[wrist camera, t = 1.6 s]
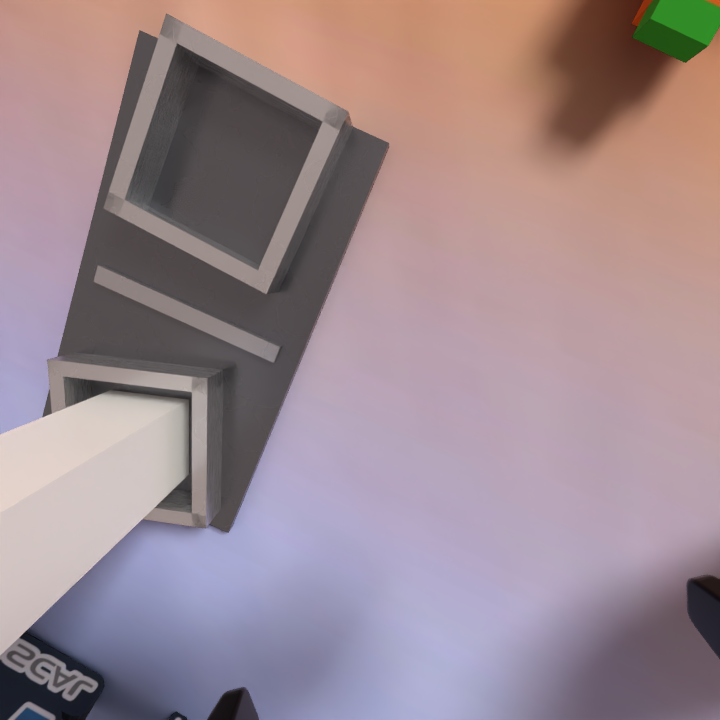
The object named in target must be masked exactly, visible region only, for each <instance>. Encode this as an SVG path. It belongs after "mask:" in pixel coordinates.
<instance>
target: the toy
mask: <svg viewBox="0 0 720 720" xmlns="http://www.w3.org/2000/svg"><path fill="white" fill-rule="evenodd" d="M632 24H633V25H635V26H637V28H636V30H635V32H634V34H633V36H632V38H634V39H636V40H638V41H640V42H642V43H644V44H647V45H649V46H651V47H653V48H655V49H657V50H659V51H661V52H664V53H666V54H668V55H670V56H672V57H674V58H676V59H678V60H681V61H683V62H685V63H686V62H687V61H688V60H690V59H691V58H693V57H694V56H695V55H697V54H698V53H699V52H701V51H702V50H703V49H705V48H706V47H707V46H709V44H710V42H711V40H712V39H713V37H714V35H715V33H716V32H717V30H718V28H719V26H720V0H644V1H643V3H642V5H641V6H640V8H639V10H638V12H637V14H636V16H635V18H634V20H633V22H632Z"/></svg>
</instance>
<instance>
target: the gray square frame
mask: <svg viewBox="0 0 720 720" xmlns="http://www.w3.org/2000/svg"><path fill="white" fill-rule="evenodd" d="M47 362H48V374H49V386H50V398H51V410H52V413H55V412H57V411H60V410H62V409H65V408H67V407H70V406H72V405H75V404H77V403H80V402H82V401H85V400H87V399H90V398H92V388H91V380H97V381H105V382H114V383H122V384H130V385H138V386H146V387H155V388H163V389H171V390H179V391H187V392H192V493H191V492H184V491H177V490H172V491H171V492H170V493H169V494H168V495H167V496H166V497H165V498H164V499H163V500H162V501H161V502H160V503H159V504H158V505H157V506H156V507H155V508H154V509H152V510H151V511H150V512H149V513H148V514H147V515H146V516H145V517H144V518H143V519H145V520H152V521H159V522H166V523H172V524H179V525H186V526H193V527H200V528H207V527H208V525H209V524H210V523H211V521H212V520H213V519H214V517H215V516H216V515H217V513H218V512H219V511H220V509H221V470H222V415H223V370H221V369H212V368H204V367H195V366H187V365H178V364H170V363H161V362H153V361H144V360H135V359H127V358H118V357H110V356H101V355H93V354H84V353H72V354H68V355H64V356H59V357H55V358H51V359H47Z"/></svg>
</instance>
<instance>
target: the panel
mask: <svg viewBox="0 0 720 720" xmlns="http://www.w3.org/2000/svg"><path fill="white" fill-rule="evenodd" d="M157 41H158V38H156V37H153V36H151V35H149V34H147V33H145V32H142V31H140V30H139V34H138V38H137V42H136V46H135V50H134V54H133V58H132V62H131V66H130V70H129V74H128V78H127V82H126V86H125V90H124V94H123V98H122V102H121V106H120V110H119V114H118V118H117V122H116V126H115V130H114V134H113V138H112V142H111V146H110V150H109V154H108V158H107V162H106V166H105V170H104V174H103V178H102V182H101V186H100V190H99V194H98V198H97V202H96V206H95V210H94V214H93V218H92V222H91V226H90V230H89V234H88V238H87V242H86V246H85V250H84V254H83V257H82V261H81V265H80V269H79V273H78V277H77V281H76V285H75V289H74V293H73V297H72V301H71V305H70V309H69V313H68V317H67V321H66V325H65V329H64V333H63V337H62V341H61V345H60V349H59V353H58V357H59V356H64V355H68V354H72V353H84V354H93V355H101V356H110V357H118V358H127V359H135V360H144V361H153V362H161V363H170V364H178V365H187V366H195V367H204V368H212V369H221V370H223V415H222V470H221V509H220V511H219V512H218V513H217V515H216V516H215V517H214V519H213V520H212V521H211V523H210V525H212V526H215V527H217V528H219V529H221V530H223V531H226V532H228V533H229V531H230V530H231V528H232V526H233V524H234V521H235V519H236V517H237V514H238V512H239V509H240V507H241V504H242V502H243V500H244V497H245V495H246V492H247V490H248V488H249V485H250V483H251V480H252V478H253V475H254V473H255V471H256V468H257V466H258V463H259V461H260V458H261V456H262V454H263V451H264V449H265V446H266V444H267V441H268V439H269V437H270V434H271V432H272V429H273V427H274V425H275V422H276V420H277V417H278V415H279V412H280V410H281V408H282V405H283V403H284V400H285V398H286V395H287V393H288V391H289V388H290V386H291V383H292V381H293V379H294V376H295V374H296V371H297V369H298V366H299V364H300V362H301V359H302V357H303V354H304V352H305V349H306V347H307V345H308V342H309V340H310V337H311V335H312V332H313V330H314V328H315V325H316V323H317V320H318V318H319V316H320V313H321V311H322V308H323V306H324V303H325V301H326V299H327V296H328V294H329V291H330V289H331V286H332V284H333V282H334V279H335V277H336V274H337V272H338V269H339V267H340V265H341V262H342V260H343V257H344V255H345V253H346V250H347V248H348V245H349V243H350V240H351V238H352V236H353V233H354V231H355V228H356V226H357V223H358V221H359V219H360V216H361V214H362V211H363V209H364V206H365V204H366V202H367V199H368V197H369V194H370V192H371V190H372V187H373V185H374V182H375V180H376V177H377V175H378V173H379V170H380V168H381V165H382V163H383V160H384V158H385V156H386V153H387V151H388V148H389V143H388V142H385V141H383V140H381V139H379V138H376V137H374V136H372V135H370V134H368V133H365V132H363V131H361V130H359V129H357V128H354V127H353V129H352V131H351V133H350V135H349V138H348V140H347V142H346V144H345V146H344V149H343V151H342V153H341V155H340V157H339V160H338V162H337V164H336V166H335V168H334V170H333V173H332V175H331V177H330V179H329V181H328V184H327V186H326V188H325V190H324V192H323V195H322V197H321V199H320V201H319V203H318V206H317V208H316V210H315V212H314V214H313V217H312V219H311V221H310V223H309V225H308V228H307V230H306V232H305V234H304V236H303V239H302V241H301V243H300V245H299V247H298V250H297V252H296V254H295V256H294V258H293V261H292V263H291V265H290V267H289V269H288V272H287V274H286V276H285V278H284V280H283V283H282V285H281V287H280V289H279V291H278V293H271V294H265V293H263V292H261V291H259V290H257V289H256V288H254V287H252V286H250V285H248V284H246V283H244V282H242V281H240V280H238V279H237V278H235V277H233V276H231V275H229V274H227V273H225V272H223V271H221V270H220V269H218V268H216V267H214V266H212V265H210V264H208V263H206V262H204V261H202V260H201V259H199V258H197V257H195V256H193V255H191V254H189V253H187V252H185V251H183V250H182V249H180V248H178V247H176V246H174V245H172V244H170V243H168V242H166V241H165V240H163V239H161V238H159V237H157V236H155V235H153V234H151V233H149V232H147V231H146V230H144V229H142V228H140V227H138V226H136V225H134V224H132V223H130V222H128V221H127V220H125V219H123V218H121V217H119V216H117V215H115V214H113V213H111V212H110V211H108V210H106V209H104V205H105V202H106V198H107V195H108V192H109V189H110V186H111V183H112V180H113V177H114V174H115V171H116V168H117V164H118V161H119V158H120V155H121V152H122V149H123V146H124V143H125V140H126V137H127V134H128V131H129V127H130V124H131V121H132V118H133V115H134V112H135V109H136V106H137V103H138V100H139V97H140V93H141V90H142V87H143V84H144V81H145V78H146V75H147V72H148V69H149V66H150V63H151V59H152V56H153V53H154V50H155V47H156V44H157ZM318 131H319V130H317V129H315V128H313V127H312V126H310V125H308V124H306V123H304V122H302V121H300V120H299V119H297V118H295V117H293V116H291V115H289V114H287V113H285V112H284V111H282V110H280V109H278V108H276V107H274V106H272V105H271V104H269V103H267V102H265V101H263V100H261V99H259V98H258V97H256V96H254V95H252V94H250V93H248V92H246V91H245V90H243V89H241V88H239V87H237V86H235V85H233V84H232V83H230V82H228V81H226V80H224V79H222V78H220V77H218V76H217V75H215V74H213V73H211V72H209V71H207V70H205V69H204V68H202V67H200V66H198V69H197V72H196V74H195V77H194V80H193V83H192V86H191V89H190V91H189V94H188V97H187V100H186V103H185V106H184V109H183V111H182V114H181V117H180V120H179V123H178V126H177V128H176V131H175V134H174V137H173V140H172V143H171V145H170V148H169V151H168V154H167V157H166V160H165V163H164V165H163V168H162V171H161V174H160V177H159V180H158V182H157V185H156V188H155V191H154V194H153V197H152V200H151V202H150V205H149V207H151V208H153V209H154V210H156V211H158V212H160V213H162V214H164V215H166V216H168V217H170V218H171V219H173V220H175V221H177V222H179V223H181V224H183V225H185V226H187V227H188V228H190V229H192V230H194V231H196V232H198V233H200V234H202V235H204V236H205V237H207V238H209V239H211V240H213V241H215V242H217V243H219V244H221V245H222V246H224V247H226V248H228V249H230V250H232V251H234V252H236V253H238V254H240V255H241V256H243V257H245V258H247V259H249V260H251V261H253V262H255V263H257V264H258V265H261V262H262V260H263V258H264V255H265V253H266V251H267V248H268V246H269V244H270V242H271V239H272V237H273V235H274V232H275V230H276V228H277V226H278V223H279V221H280V219H281V216H282V214H283V212H284V209H285V207H286V205H287V203H288V200H289V198H290V196H291V193H292V191H293V189H294V186H295V184H296V182H297V180H298V177H299V175H300V173H301V170H302V168H303V166H304V164H305V161H306V159H307V157H308V154H309V152H310V150H311V147H312V145H313V143H314V141H315V138H316V136H317V134H318ZM91 388H92V397H95V396H97V395H100V394H102V393H104V392H107V391H109V390H114V391H123V392H131V393H139V394H147V395H155V396H163V397H171V398H179V399H187V400H189V475H188V476H187V477H186V478H185V479H184V480H183V481H182V482H181V483H180V484H179V485H177V486H176V487H175V488H174V489H173V490H177V491H184V492H191V493H192V392H187V391H179V390H171V389H163V388H155V387H146V386H138V385H130V384H122V383H114V382H105V381H97V380H91ZM50 414H52V410H51V398H50V389H49V393H48V397H47V401H46V405H45V409H44V413H43V417H45V416H47V415H50Z"/></svg>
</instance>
